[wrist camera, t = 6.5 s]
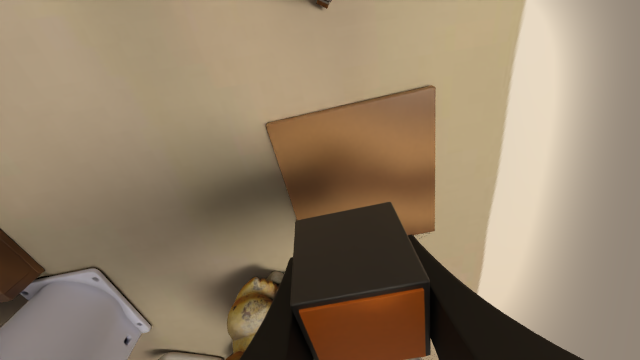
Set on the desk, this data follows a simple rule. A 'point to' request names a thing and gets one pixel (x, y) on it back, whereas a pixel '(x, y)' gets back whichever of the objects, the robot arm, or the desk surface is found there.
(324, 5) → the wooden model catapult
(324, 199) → the cork mat
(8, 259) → the walnut box
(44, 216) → the desk surface
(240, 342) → the decorative figurine
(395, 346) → the puzzle cube
